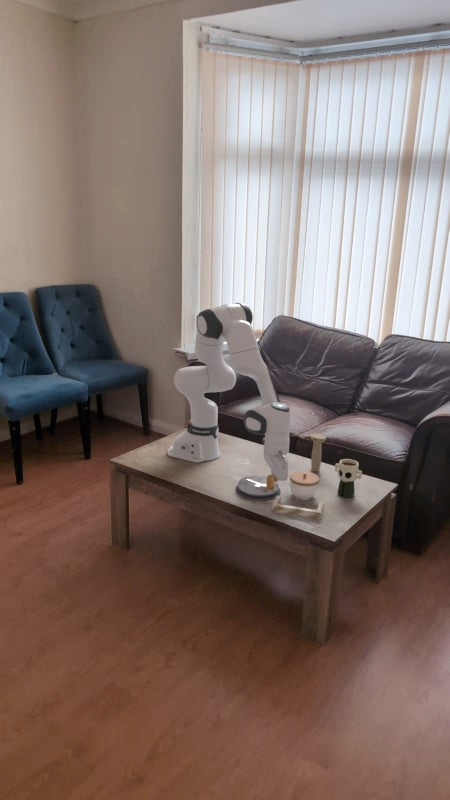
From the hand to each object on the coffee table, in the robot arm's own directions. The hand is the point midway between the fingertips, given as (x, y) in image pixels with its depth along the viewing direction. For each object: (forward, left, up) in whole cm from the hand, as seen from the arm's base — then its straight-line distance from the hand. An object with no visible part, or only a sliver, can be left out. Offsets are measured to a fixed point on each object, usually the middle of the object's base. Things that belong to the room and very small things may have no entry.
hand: (274, 481), depth 229 cm
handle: (+12, +26, -5) cm, 30 cm away
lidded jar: (+11, +1, -5) cm, 12 cm away
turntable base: (-6, 0, -5) cm, 8 cm away
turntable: (-6, 0, -5) cm, 8 cm away
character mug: (+26, +8, -5) cm, 28 cm away
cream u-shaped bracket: (+11, -10, -5) cm, 16 cm away
